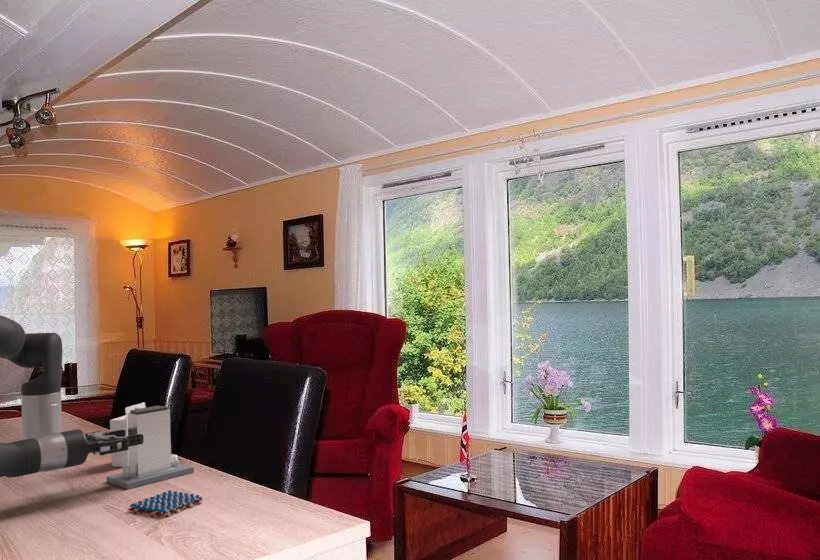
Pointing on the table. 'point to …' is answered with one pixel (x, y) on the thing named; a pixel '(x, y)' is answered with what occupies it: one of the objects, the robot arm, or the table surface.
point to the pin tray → (132, 481)
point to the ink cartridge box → (122, 424)
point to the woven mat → (165, 504)
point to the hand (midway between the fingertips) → (133, 436)
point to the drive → (150, 440)
